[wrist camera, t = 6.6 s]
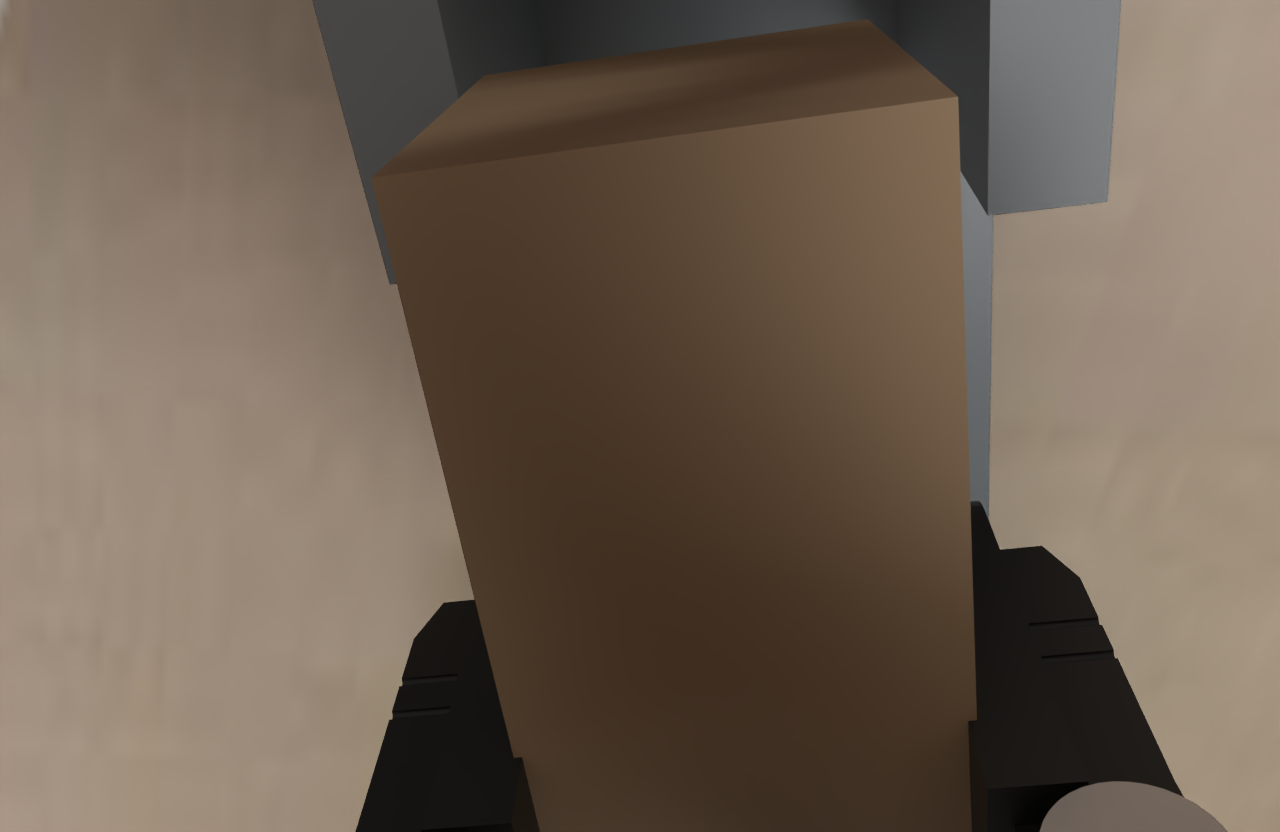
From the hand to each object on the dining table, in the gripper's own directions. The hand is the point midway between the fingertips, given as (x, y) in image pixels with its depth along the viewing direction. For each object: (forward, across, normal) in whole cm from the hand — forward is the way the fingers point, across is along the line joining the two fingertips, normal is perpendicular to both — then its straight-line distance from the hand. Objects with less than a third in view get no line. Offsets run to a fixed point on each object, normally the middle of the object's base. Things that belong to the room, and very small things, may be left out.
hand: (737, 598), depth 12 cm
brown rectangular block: (+1, 0, 0) cm, 1 cm away
